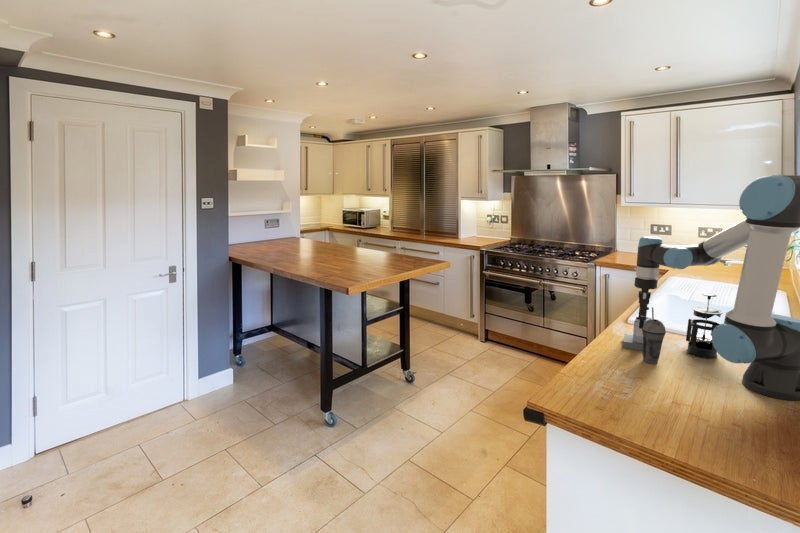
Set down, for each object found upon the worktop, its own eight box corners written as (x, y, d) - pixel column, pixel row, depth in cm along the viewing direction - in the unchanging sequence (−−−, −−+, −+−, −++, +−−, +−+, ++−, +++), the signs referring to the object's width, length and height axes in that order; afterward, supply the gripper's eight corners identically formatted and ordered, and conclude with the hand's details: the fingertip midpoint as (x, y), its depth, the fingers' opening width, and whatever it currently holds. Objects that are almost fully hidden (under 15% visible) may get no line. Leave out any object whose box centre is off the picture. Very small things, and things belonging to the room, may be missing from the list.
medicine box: (636, 336, 172) (638, 315, 170) (649, 338, 169) (651, 317, 167) (632, 341, 166) (634, 320, 164) (645, 344, 163) (647, 322, 162)
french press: (725, 358, 156) (734, 296, 152) (704, 360, 154) (713, 298, 150) (696, 346, 167) (704, 289, 163) (676, 348, 165) (683, 290, 161)
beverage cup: (665, 366, 149) (672, 311, 145) (642, 364, 151) (648, 310, 147) (657, 358, 156) (663, 305, 152) (635, 356, 158) (641, 304, 154)
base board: (655, 354, 161) (656, 346, 161) (622, 348, 167) (623, 341, 166) (655, 345, 170) (656, 338, 169) (624, 340, 175) (624, 333, 175)
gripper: (636, 270, 175) (631, 320, 179) (633, 282, 154) (628, 338, 158) (657, 272, 172) (652, 323, 176) (657, 285, 151) (651, 342, 155)
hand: (640, 330), depth 167 cm, fingers open, 13 cm apart
